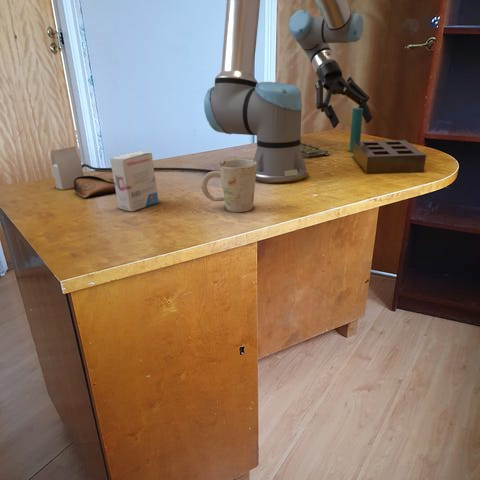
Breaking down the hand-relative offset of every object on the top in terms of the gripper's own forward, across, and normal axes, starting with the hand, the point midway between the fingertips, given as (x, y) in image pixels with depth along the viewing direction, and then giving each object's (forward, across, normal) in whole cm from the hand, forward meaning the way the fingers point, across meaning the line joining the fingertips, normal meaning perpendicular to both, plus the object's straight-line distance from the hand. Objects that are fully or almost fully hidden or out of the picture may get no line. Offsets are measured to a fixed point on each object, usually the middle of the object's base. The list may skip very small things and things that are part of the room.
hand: (353, 122), depth 159 cm
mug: (+30, -63, -18) cm, 72 cm away
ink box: (+20, -80, -7) cm, 82 cm away
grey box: (-1, -89, +13) cm, 90 cm away
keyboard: (0, -13, +13) cm, 18 cm away
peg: (+7, 0, +5) cm, 9 cm away
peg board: (+21, -4, -9) cm, 23 cm away
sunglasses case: (+7, -81, +6) cm, 81 cm away
